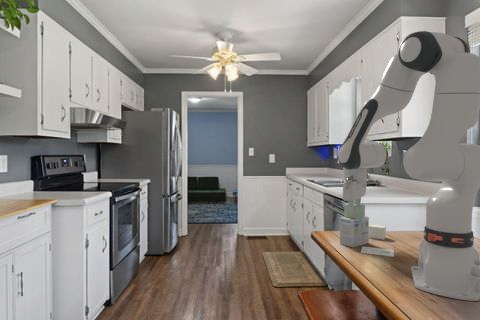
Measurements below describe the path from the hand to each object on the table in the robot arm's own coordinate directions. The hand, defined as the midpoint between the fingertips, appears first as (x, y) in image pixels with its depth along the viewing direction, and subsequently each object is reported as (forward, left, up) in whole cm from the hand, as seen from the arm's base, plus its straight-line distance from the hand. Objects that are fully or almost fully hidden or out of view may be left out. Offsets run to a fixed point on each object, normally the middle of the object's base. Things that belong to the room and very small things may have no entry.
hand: (354, 209), depth 126 cm
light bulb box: (0, 0, -14) cm, 14 cm away
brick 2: (+15, -5, -14) cm, 21 cm away
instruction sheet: (-6, -10, -14) cm, 18 cm away
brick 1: (0, 0, -3) cm, 3 cm away
